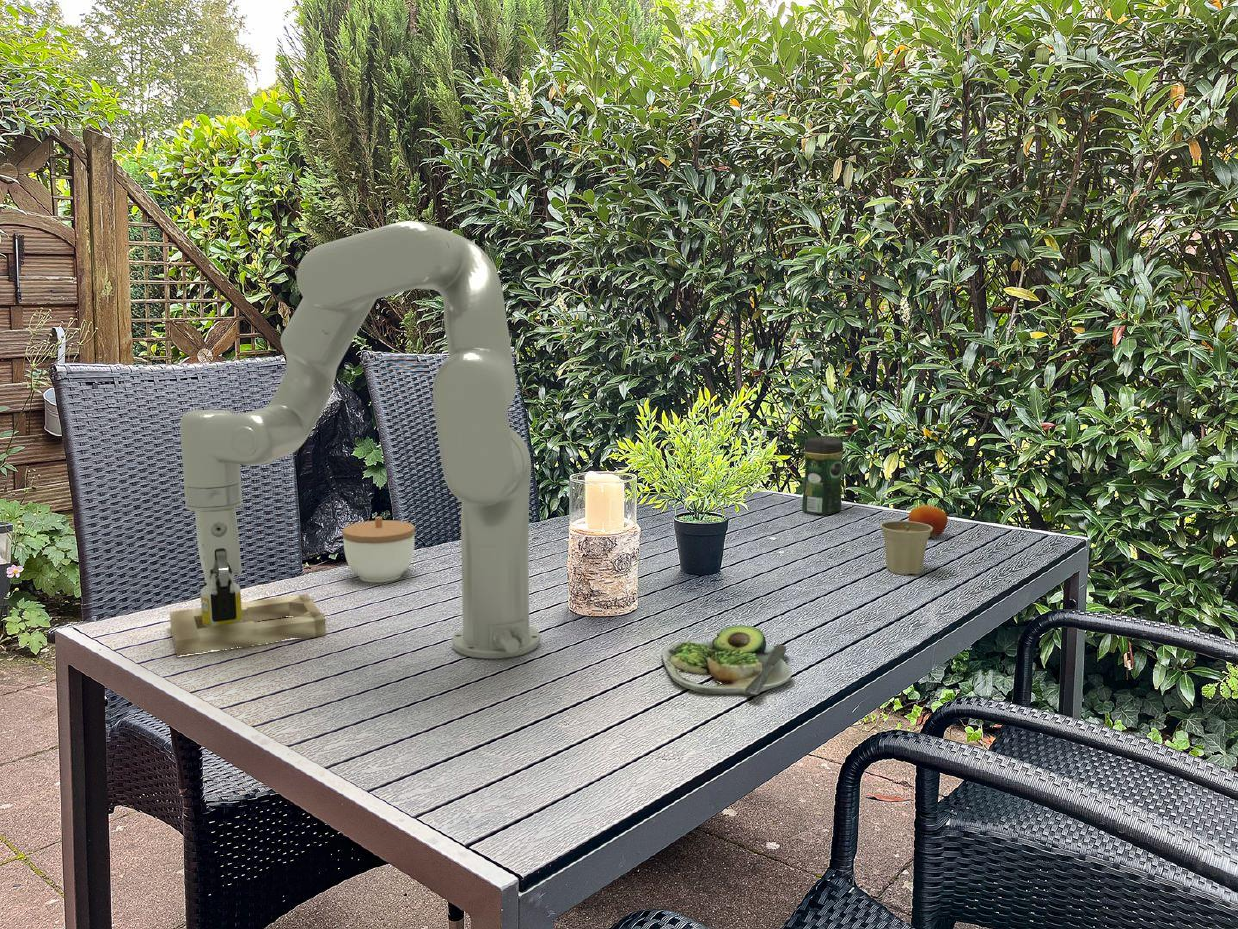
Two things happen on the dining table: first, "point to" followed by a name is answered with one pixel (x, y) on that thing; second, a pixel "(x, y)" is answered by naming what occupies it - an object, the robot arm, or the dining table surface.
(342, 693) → the dining table surface
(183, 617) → the beige flat rectangular frame
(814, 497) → the coffee jar
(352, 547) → the lidded bowl
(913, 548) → the flower pot
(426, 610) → the dining table surface
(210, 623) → the supplement bottle
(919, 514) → the fruit
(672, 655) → the avocado toast plate
